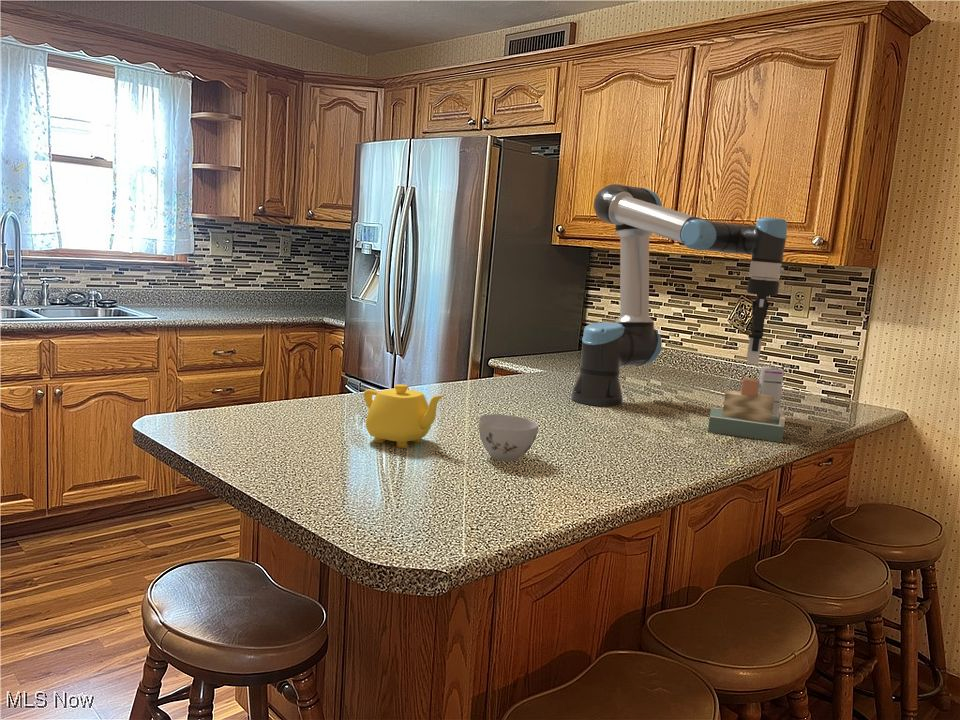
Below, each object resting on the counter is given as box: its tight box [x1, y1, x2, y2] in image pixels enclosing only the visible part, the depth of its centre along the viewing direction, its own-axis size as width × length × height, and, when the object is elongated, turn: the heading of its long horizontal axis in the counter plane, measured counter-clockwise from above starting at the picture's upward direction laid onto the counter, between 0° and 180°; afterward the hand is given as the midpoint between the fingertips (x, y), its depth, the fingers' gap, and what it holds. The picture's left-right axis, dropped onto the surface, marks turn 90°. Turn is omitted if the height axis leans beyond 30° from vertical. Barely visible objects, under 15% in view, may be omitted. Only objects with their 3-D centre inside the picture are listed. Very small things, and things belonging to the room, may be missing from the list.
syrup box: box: [758, 365, 785, 416], centre depth 222 cm, size 6×6×14 cm
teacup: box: [478, 413, 539, 463], centre depth 157 cm, size 15×12×8 cm
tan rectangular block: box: [722, 389, 774, 422], centre depth 199 cm, size 12×6×6 cm, turn 71°
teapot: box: [363, 383, 445, 449], centre depth 163 cm, size 13×20×12 cm
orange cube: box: [740, 377, 760, 397], centre depth 198 cm, size 4×4×4 cm
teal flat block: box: [707, 407, 786, 443], centre depth 199 cm, size 18×14×6 cm
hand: (752, 360), depth 197 cm, fingers open, 13 cm apart
